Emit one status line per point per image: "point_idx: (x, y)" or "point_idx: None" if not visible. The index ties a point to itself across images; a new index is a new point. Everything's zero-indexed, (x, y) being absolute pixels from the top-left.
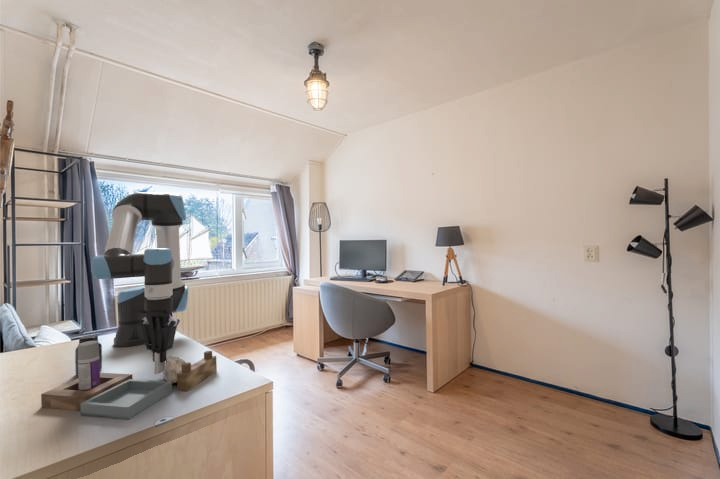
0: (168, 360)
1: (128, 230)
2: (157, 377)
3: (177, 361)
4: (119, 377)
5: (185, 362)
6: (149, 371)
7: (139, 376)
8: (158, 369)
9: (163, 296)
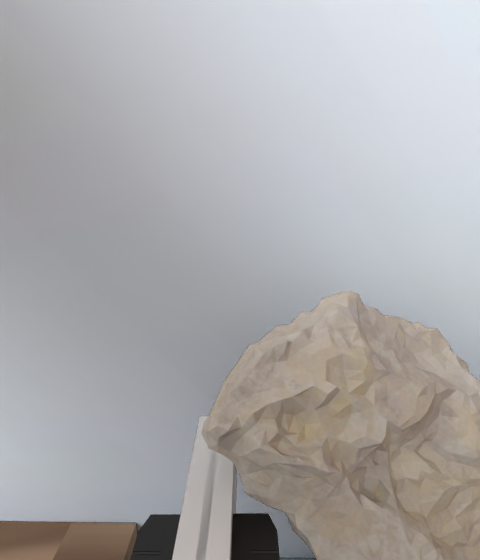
0: (329, 552)
1: None
2: (186, 401)
3: (375, 453)
4: None
5: (434, 395)
6: (14, 315)
7: (30, 402)
8: (235, 507)
9: None
